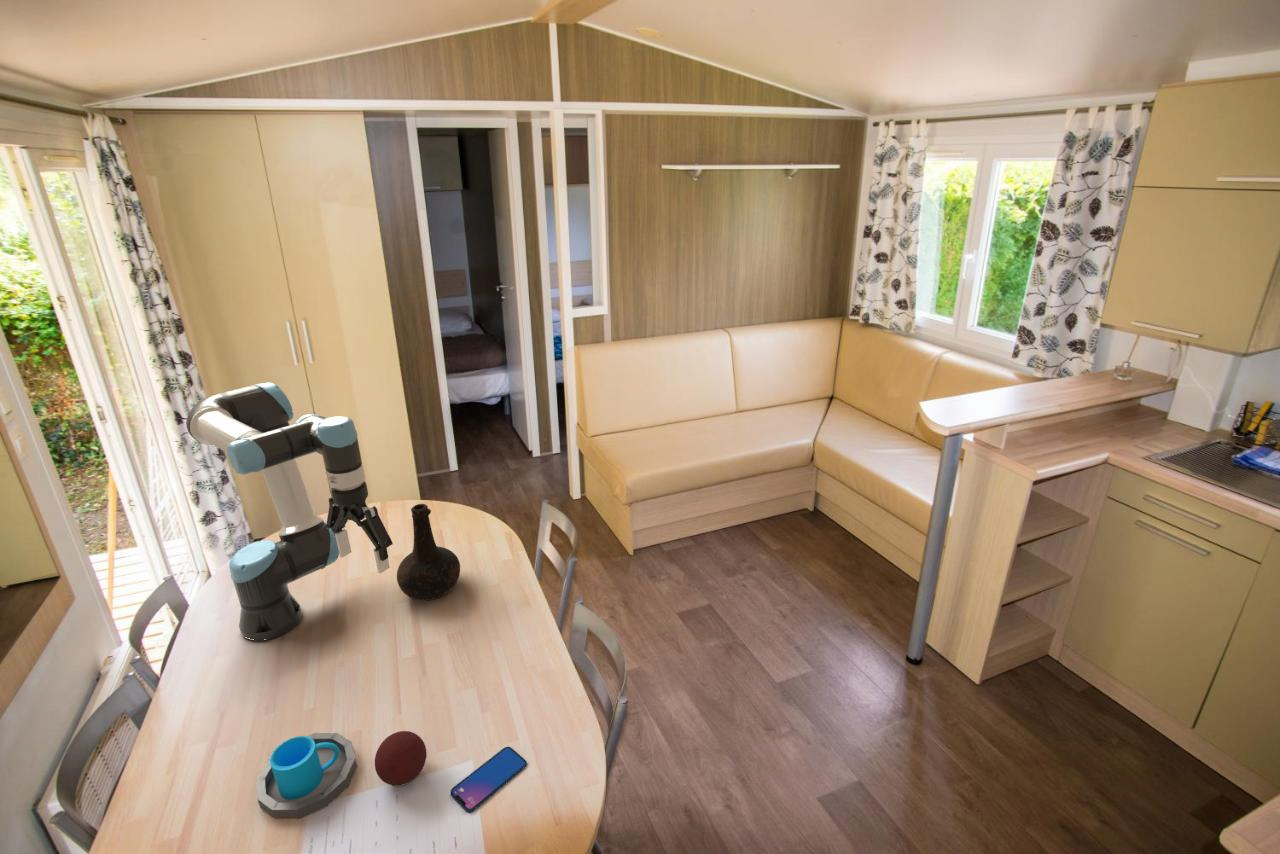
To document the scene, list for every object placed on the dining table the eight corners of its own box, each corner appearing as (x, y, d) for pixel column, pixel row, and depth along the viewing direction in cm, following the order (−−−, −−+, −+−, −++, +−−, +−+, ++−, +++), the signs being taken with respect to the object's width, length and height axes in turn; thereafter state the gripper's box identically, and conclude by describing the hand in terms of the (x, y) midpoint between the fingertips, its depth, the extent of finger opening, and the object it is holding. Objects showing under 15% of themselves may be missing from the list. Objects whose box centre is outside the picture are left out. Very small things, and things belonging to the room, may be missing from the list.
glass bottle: (405, 616, 180) (389, 530, 170) (396, 582, 195) (380, 501, 184) (469, 597, 188) (457, 514, 177) (455, 566, 203) (443, 487, 192)
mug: (281, 807, 127) (271, 777, 124) (276, 776, 133) (267, 747, 130) (346, 777, 133) (338, 748, 130) (339, 749, 139) (331, 721, 136)
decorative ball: (380, 804, 128) (371, 768, 124) (377, 764, 136) (369, 729, 132) (432, 786, 131) (425, 750, 127) (426, 748, 140) (420, 713, 136)
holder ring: (240, 793, 130) (237, 784, 129) (319, 729, 145) (317, 721, 144) (296, 834, 122) (293, 825, 121) (374, 762, 137) (372, 754, 136)
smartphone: (529, 763, 136) (469, 813, 125) (529, 766, 136) (469, 816, 126) (507, 744, 140) (447, 791, 130) (508, 747, 140) (448, 794, 130)
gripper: (298, 478, 150) (317, 555, 158) (371, 503, 138) (387, 585, 146) (327, 465, 156) (343, 541, 164) (399, 489, 144) (413, 568, 152)
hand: (364, 562), depth 155 cm, fingers open, 13 cm apart
